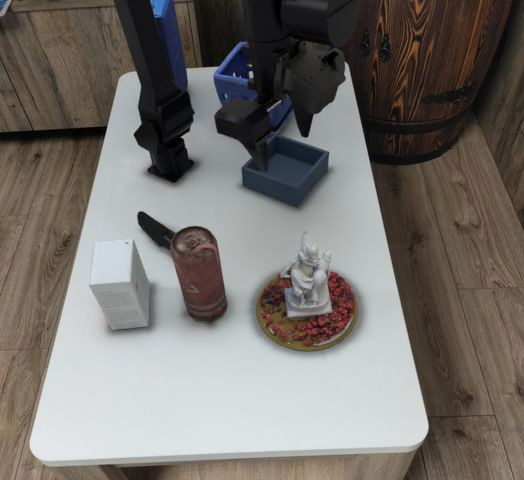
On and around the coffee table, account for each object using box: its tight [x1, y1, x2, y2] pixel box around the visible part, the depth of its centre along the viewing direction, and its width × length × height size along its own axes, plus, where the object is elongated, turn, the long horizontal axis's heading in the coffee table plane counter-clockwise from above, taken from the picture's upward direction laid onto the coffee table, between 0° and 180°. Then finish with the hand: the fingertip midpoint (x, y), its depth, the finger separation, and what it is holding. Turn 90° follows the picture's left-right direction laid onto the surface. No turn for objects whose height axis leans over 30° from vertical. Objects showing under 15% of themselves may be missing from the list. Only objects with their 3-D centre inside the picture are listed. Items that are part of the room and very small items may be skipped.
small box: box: [88, 238, 151, 331], centre depth 71 cm, size 8×6×10 cm
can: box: [169, 225, 228, 323], centre depth 69 cm, size 6×6×14 cm
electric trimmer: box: [136, 210, 177, 251], centre depth 81 cm, size 4×16×3 cm, turn 45°
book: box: [150, 0, 189, 92], centre depth 95 cm, size 14×5×20 cm, turn 179°
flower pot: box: [212, 41, 294, 139], centre depth 94 cm, size 13×13×12 cm
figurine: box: [255, 228, 359, 352], centre depth 68 cm, size 15×15×14 cm
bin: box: [240, 133, 330, 208], centre depth 88 cm, size 11×11×4 cm
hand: (285, 153), depth 71 cm, fingers open, 9 cm apart
